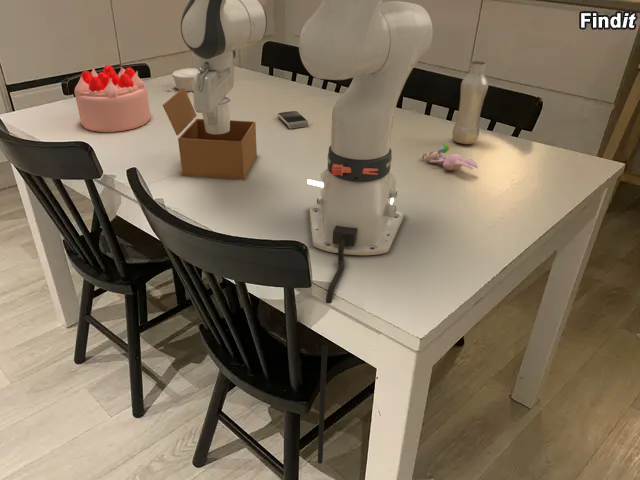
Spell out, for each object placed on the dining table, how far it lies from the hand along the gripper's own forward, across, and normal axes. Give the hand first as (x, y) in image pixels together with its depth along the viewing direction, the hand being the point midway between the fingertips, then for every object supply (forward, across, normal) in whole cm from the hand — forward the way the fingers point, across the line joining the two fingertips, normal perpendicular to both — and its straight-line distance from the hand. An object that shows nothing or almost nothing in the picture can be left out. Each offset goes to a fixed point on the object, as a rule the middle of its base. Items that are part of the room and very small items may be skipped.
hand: (217, 120), depth 129 cm
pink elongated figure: (+11, +6, -54) cm, 56 cm away
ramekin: (+12, +62, +28) cm, 69 cm away
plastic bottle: (+11, +24, -59) cm, 65 cm away
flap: (-2, 0, +8) cm, 9 cm away
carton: (+11, 0, 0) cm, 11 cm away
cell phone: (+12, +33, -12) cm, 37 cm away
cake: (+12, +26, +39) cm, 48 cm away
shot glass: (+3, 0, 0) cm, 3 cm away
